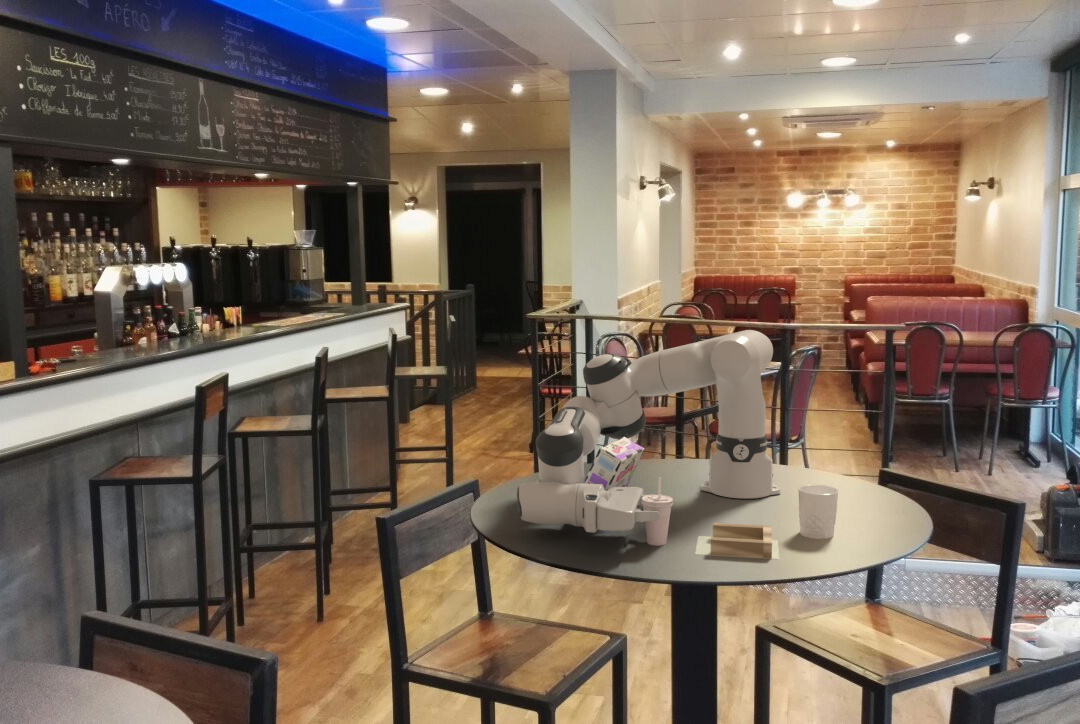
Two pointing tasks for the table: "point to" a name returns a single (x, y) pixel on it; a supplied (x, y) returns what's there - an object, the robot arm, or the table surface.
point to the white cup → (817, 511)
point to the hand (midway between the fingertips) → (661, 508)
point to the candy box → (615, 464)
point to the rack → (741, 540)
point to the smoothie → (659, 528)
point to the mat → (705, 549)
